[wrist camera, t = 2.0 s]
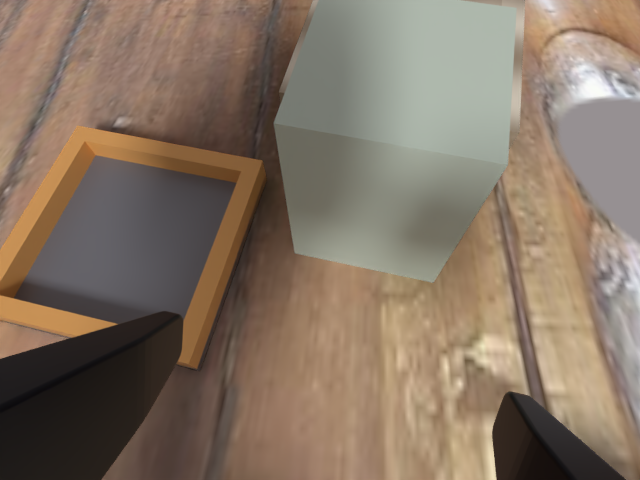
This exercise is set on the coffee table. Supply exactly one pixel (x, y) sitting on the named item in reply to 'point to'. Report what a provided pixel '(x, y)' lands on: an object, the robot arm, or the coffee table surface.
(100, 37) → the coffee table surface
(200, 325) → the tray
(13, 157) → the coffee table surface
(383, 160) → the sage block
